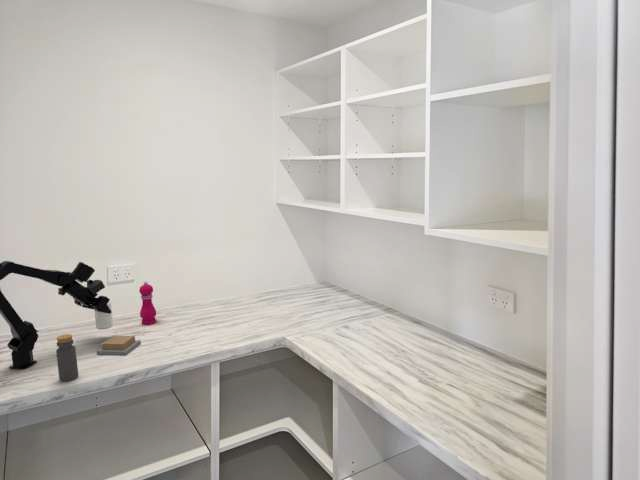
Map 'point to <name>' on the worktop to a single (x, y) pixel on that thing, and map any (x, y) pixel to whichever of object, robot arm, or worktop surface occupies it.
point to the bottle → (66, 358)
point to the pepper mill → (147, 304)
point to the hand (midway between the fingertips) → (106, 311)
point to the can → (104, 319)
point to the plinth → (119, 352)
